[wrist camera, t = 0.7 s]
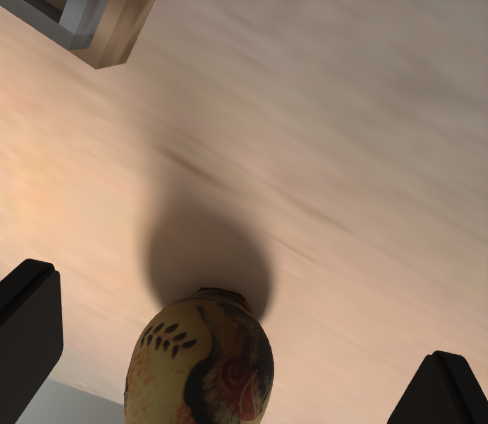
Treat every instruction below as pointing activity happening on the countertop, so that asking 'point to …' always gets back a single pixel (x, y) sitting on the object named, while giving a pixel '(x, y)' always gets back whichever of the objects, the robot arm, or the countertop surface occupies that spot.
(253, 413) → the ceramic jug
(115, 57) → the raised dock
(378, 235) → the countertop surface
